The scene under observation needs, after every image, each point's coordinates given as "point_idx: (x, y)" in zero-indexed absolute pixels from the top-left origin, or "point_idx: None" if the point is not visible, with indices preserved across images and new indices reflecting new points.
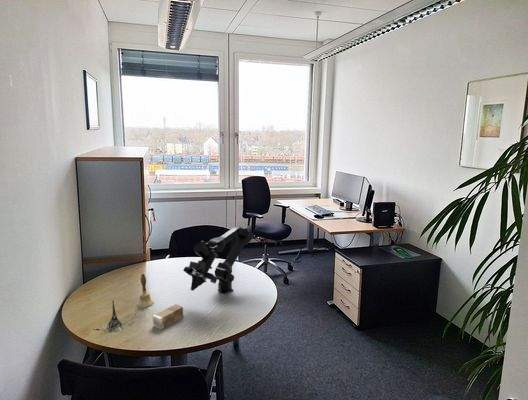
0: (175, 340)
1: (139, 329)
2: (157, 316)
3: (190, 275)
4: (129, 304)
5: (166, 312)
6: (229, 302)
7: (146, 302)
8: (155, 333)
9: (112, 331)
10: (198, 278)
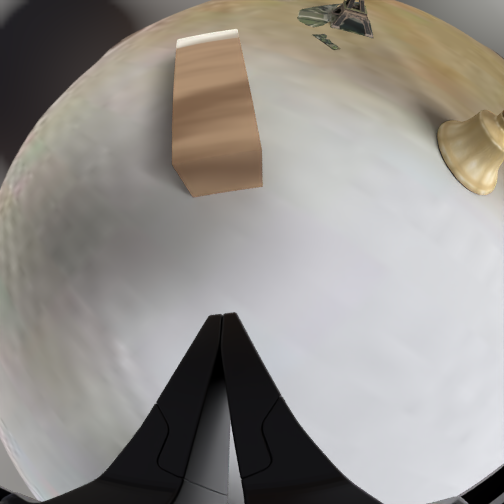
0: (86, 97)
1: (259, 37)
2: (207, 36)
3: (495, 470)
4: None
5: (204, 69)
6: None
7: (457, 134)
8: None
9: (312, 8)
10: (69, 495)
